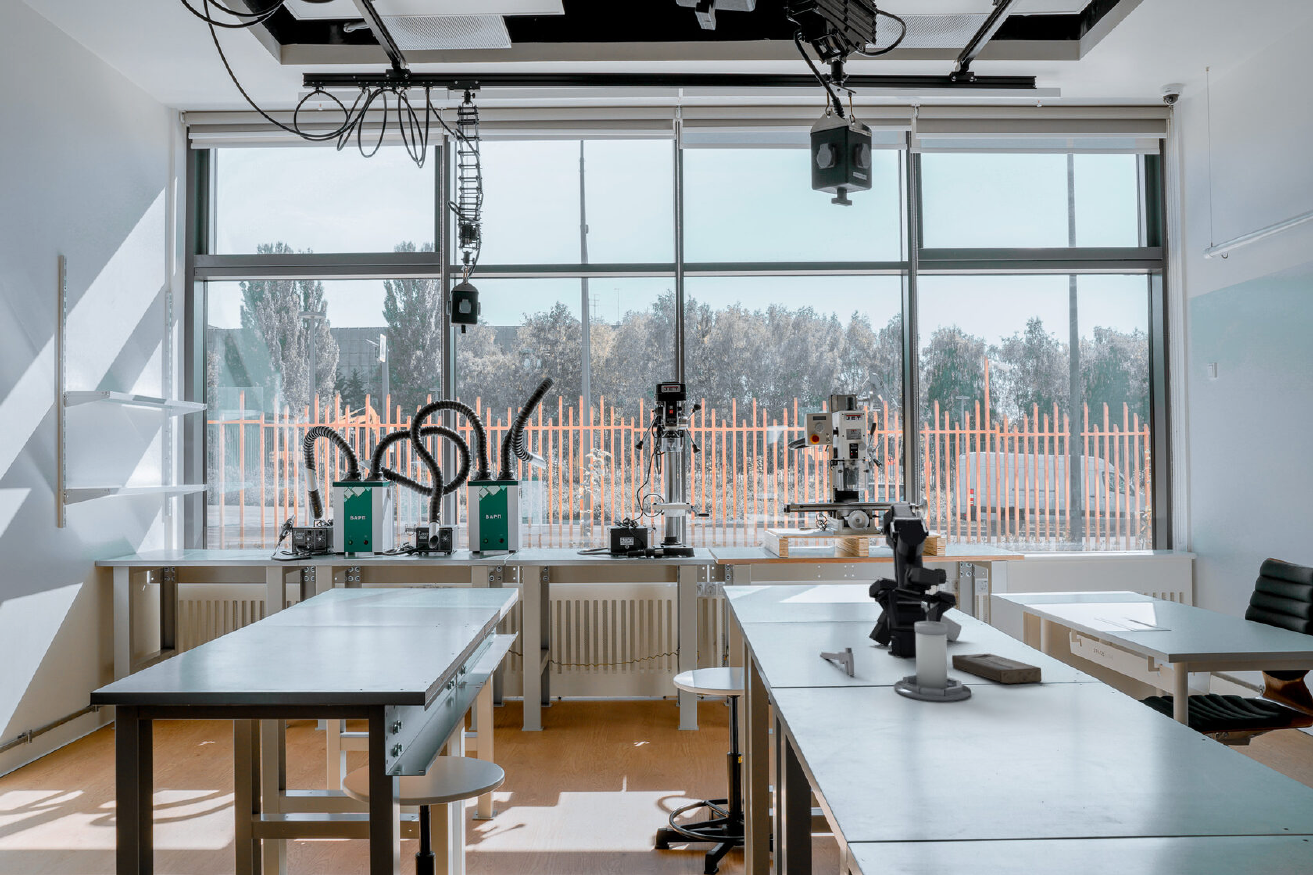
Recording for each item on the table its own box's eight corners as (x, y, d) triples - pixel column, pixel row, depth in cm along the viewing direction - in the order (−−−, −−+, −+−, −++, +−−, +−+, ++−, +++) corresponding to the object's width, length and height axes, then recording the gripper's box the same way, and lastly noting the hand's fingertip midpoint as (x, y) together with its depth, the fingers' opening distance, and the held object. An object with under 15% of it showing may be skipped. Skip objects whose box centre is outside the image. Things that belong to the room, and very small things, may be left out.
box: (1000, 685, 174) (1000, 670, 174) (950, 668, 191) (950, 654, 191) (1043, 682, 177) (1043, 667, 177) (990, 666, 194) (990, 652, 194)
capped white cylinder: (922, 682, 175) (921, 620, 175) (953, 687, 171) (951, 623, 171) (910, 688, 170) (909, 624, 170) (941, 693, 166) (940, 628, 166)
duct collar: (931, 679, 180) (931, 669, 180) (987, 695, 167) (987, 685, 167) (878, 688, 173) (878, 678, 173) (932, 706, 160) (932, 695, 160)
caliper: (854, 677, 183) (854, 649, 183) (849, 677, 183) (849, 649, 183) (823, 656, 203) (823, 630, 203) (819, 656, 203) (819, 631, 203)
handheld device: (867, 636, 215) (891, 585, 218) (933, 673, 220) (956, 622, 222) (874, 639, 212) (899, 587, 214) (941, 677, 216) (965, 625, 218)
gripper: (890, 543, 181) (894, 609, 172) (966, 561, 184) (974, 627, 176) (866, 563, 190) (869, 628, 181) (939, 580, 193) (945, 644, 185)
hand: (915, 631), depth 181 cm, fingers open, 9 cm apart
